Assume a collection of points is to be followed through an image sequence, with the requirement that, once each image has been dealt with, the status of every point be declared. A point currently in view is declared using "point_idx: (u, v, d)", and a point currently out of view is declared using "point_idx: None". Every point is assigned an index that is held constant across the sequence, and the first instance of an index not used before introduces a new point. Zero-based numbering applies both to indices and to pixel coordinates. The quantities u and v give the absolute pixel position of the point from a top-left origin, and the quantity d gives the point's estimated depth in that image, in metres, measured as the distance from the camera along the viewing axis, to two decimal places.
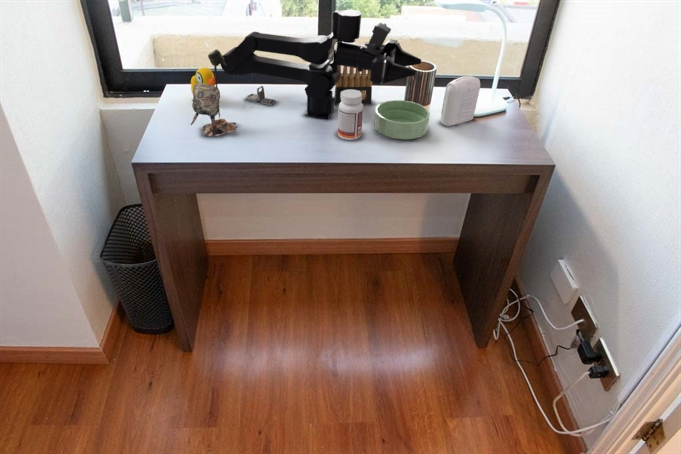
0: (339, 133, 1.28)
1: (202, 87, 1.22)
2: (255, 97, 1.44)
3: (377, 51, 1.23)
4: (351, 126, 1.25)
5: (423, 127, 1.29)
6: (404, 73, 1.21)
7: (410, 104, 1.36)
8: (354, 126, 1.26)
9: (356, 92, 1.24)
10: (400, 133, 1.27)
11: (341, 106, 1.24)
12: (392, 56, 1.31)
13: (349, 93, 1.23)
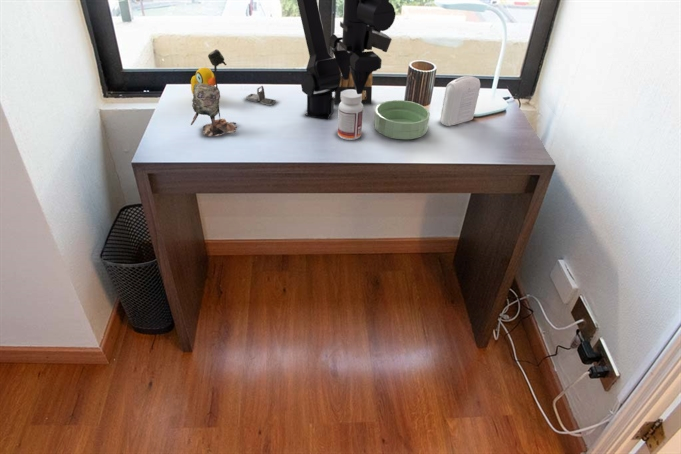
0: (339, 133, 1.28)
1: (202, 87, 1.22)
2: (255, 97, 1.44)
3: (371, 46, 1.15)
4: (351, 126, 1.25)
5: (423, 127, 1.29)
6: (360, 85, 1.17)
7: (410, 104, 1.36)
8: (354, 126, 1.26)
9: (356, 92, 1.24)
10: (400, 133, 1.27)
11: (341, 106, 1.24)
12: None
13: (349, 93, 1.23)
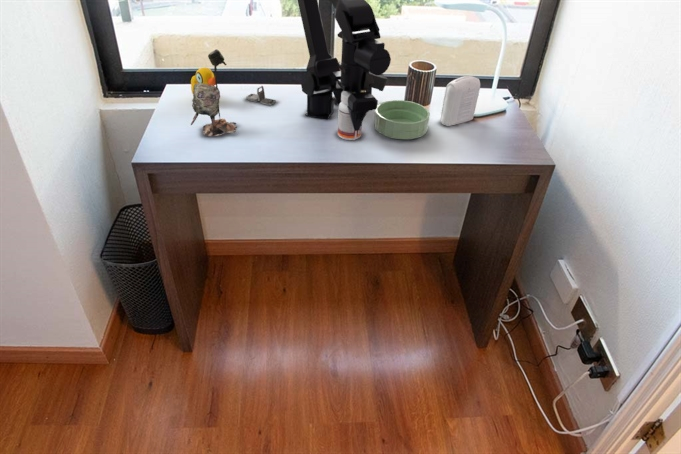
0: (339, 133, 1.28)
1: (202, 87, 1.22)
2: (255, 97, 1.44)
3: (368, 87, 1.20)
4: (351, 127, 1.25)
5: (423, 127, 1.29)
6: (357, 122, 1.22)
7: (410, 104, 1.36)
8: None
9: None
10: (400, 133, 1.27)
11: (341, 106, 1.24)
12: None
13: None
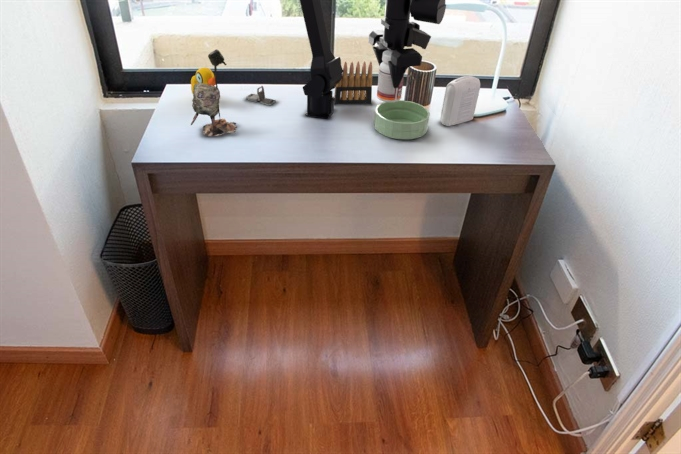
0: (379, 95, 1.25)
1: (202, 87, 1.22)
2: (255, 97, 1.44)
3: (411, 44, 1.17)
4: (391, 88, 1.23)
5: (423, 127, 1.29)
6: (397, 79, 1.20)
7: (410, 104, 1.36)
8: None
9: None
10: (400, 133, 1.27)
11: (382, 66, 1.21)
12: None
13: None
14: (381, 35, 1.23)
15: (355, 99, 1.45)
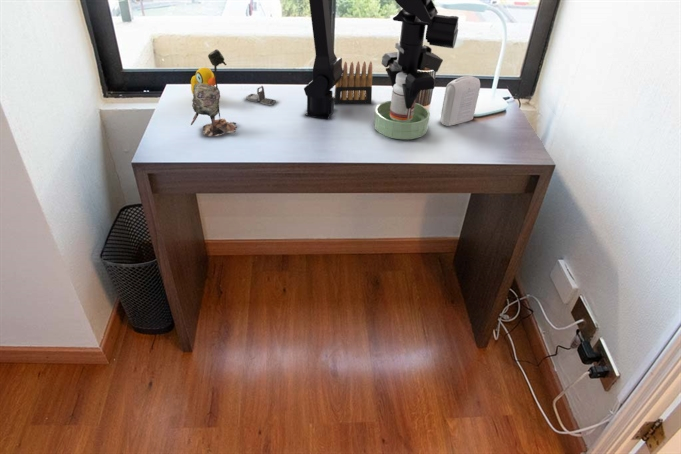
0: (392, 115, 1.30)
1: (202, 87, 1.22)
2: (255, 97, 1.44)
3: (424, 67, 1.22)
4: (404, 109, 1.28)
5: (423, 127, 1.29)
6: (410, 100, 1.25)
7: None
8: None
9: None
10: (400, 133, 1.27)
11: (396, 88, 1.26)
12: None
13: (405, 76, 1.25)
14: (394, 58, 1.28)
15: (355, 99, 1.45)
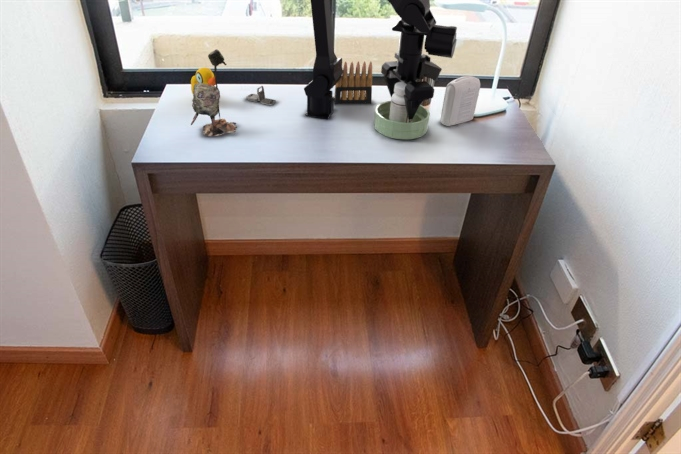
0: None
1: (202, 87, 1.22)
2: (255, 97, 1.44)
3: (423, 76, 1.24)
4: (403, 118, 1.29)
5: (423, 127, 1.29)
6: (411, 111, 1.26)
7: None
8: (407, 117, 1.29)
9: None
10: (400, 133, 1.27)
11: (394, 98, 1.28)
12: None
13: (403, 85, 1.27)
14: (394, 67, 1.29)
15: (355, 99, 1.45)
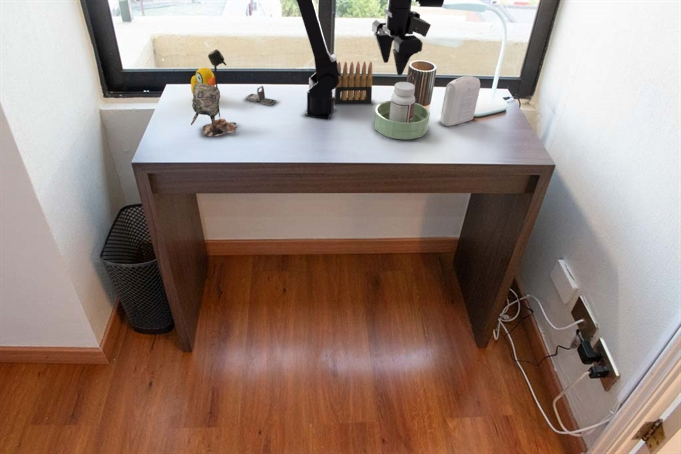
0: None
1: (202, 87, 1.22)
2: (255, 97, 1.44)
3: (412, 31, 1.26)
4: (403, 118, 1.29)
5: (423, 127, 1.29)
6: (401, 66, 1.27)
7: None
8: (407, 117, 1.29)
9: (409, 85, 1.27)
10: (400, 133, 1.27)
11: (394, 98, 1.28)
12: (387, 33, 1.32)
13: (403, 85, 1.27)
14: (384, 23, 1.31)
15: (355, 99, 1.45)
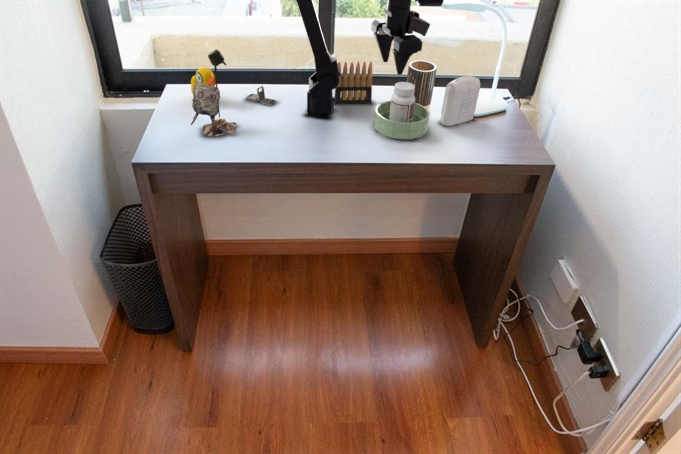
0: None
1: (202, 87, 1.22)
2: (255, 97, 1.44)
3: (412, 31, 1.26)
4: (403, 118, 1.29)
5: (423, 127, 1.29)
6: (401, 66, 1.28)
7: None
8: (407, 117, 1.29)
9: (409, 85, 1.27)
10: (400, 133, 1.27)
11: (394, 98, 1.28)
12: (386, 32, 1.33)
13: (403, 85, 1.27)
14: (383, 23, 1.31)
15: (355, 99, 1.45)
